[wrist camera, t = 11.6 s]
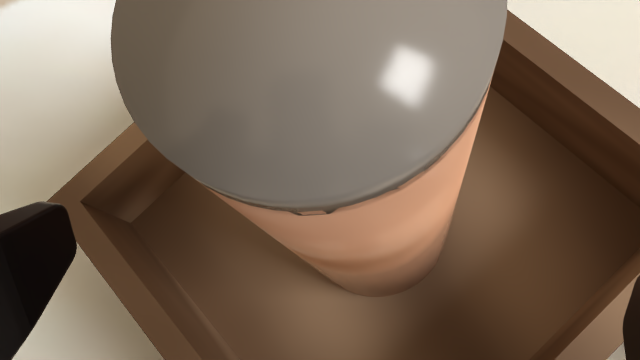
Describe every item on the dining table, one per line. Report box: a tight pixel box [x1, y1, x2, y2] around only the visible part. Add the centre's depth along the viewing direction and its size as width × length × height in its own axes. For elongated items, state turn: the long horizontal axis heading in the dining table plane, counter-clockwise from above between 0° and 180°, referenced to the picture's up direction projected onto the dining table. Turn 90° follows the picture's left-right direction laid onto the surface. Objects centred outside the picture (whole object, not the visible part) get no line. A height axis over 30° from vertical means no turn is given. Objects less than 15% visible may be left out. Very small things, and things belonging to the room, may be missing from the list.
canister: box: [111, 0, 507, 297], centre depth 13 cm, size 5×5×13 cm
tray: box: [47, 10, 640, 360], centre depth 18 cm, size 14×14×4 cm
